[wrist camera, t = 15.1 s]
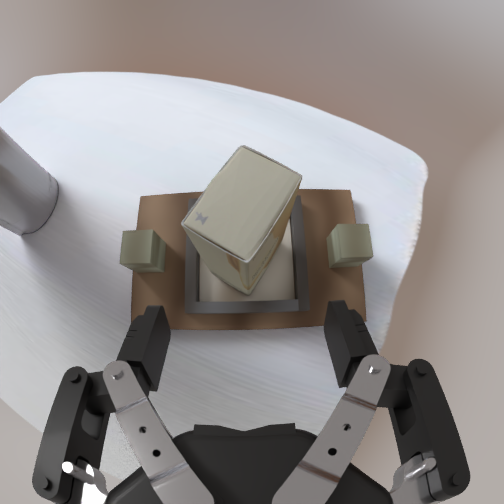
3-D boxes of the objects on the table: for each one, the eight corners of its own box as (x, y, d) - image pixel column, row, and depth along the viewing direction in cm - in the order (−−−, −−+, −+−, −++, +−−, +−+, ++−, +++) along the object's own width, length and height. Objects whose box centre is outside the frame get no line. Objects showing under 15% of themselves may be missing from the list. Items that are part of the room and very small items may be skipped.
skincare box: (249, 297, 25) (245, 271, 13) (209, 273, 26) (174, 228, 14) (284, 240, 26) (306, 173, 15) (245, 218, 27) (240, 141, 15)
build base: (137, 327, 26) (112, 326, 21) (145, 202, 30) (126, 178, 24) (360, 321, 26) (384, 319, 21) (346, 196, 30) (362, 171, 24)
